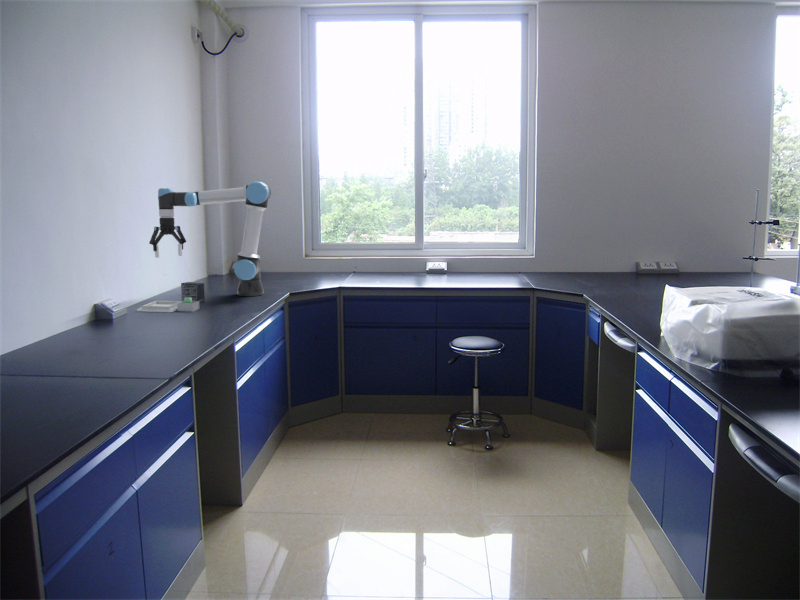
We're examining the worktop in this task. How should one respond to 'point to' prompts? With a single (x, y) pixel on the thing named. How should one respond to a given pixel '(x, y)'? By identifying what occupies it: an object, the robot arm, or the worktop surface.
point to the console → (188, 306)
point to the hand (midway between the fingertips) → (168, 256)
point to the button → (188, 300)
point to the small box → (193, 291)
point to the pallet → (160, 306)
